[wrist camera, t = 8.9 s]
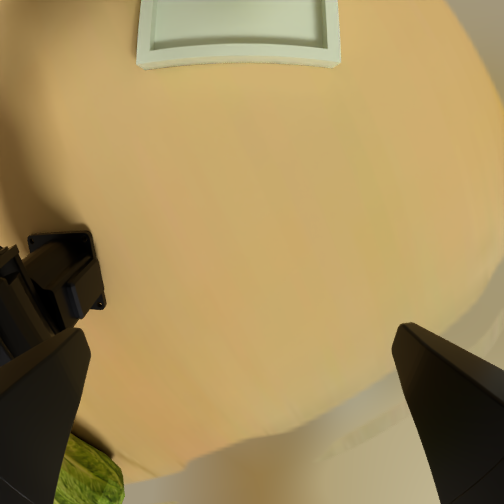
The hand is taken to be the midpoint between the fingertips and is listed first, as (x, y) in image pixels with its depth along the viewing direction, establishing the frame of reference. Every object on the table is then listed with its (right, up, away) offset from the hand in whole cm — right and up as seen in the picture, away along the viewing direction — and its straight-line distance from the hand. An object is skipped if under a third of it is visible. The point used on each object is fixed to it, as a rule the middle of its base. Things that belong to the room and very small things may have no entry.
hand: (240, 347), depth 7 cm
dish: (-1, +20, +6) cm, 21 cm away
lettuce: (-29, -23, +23) cm, 43 cm away
